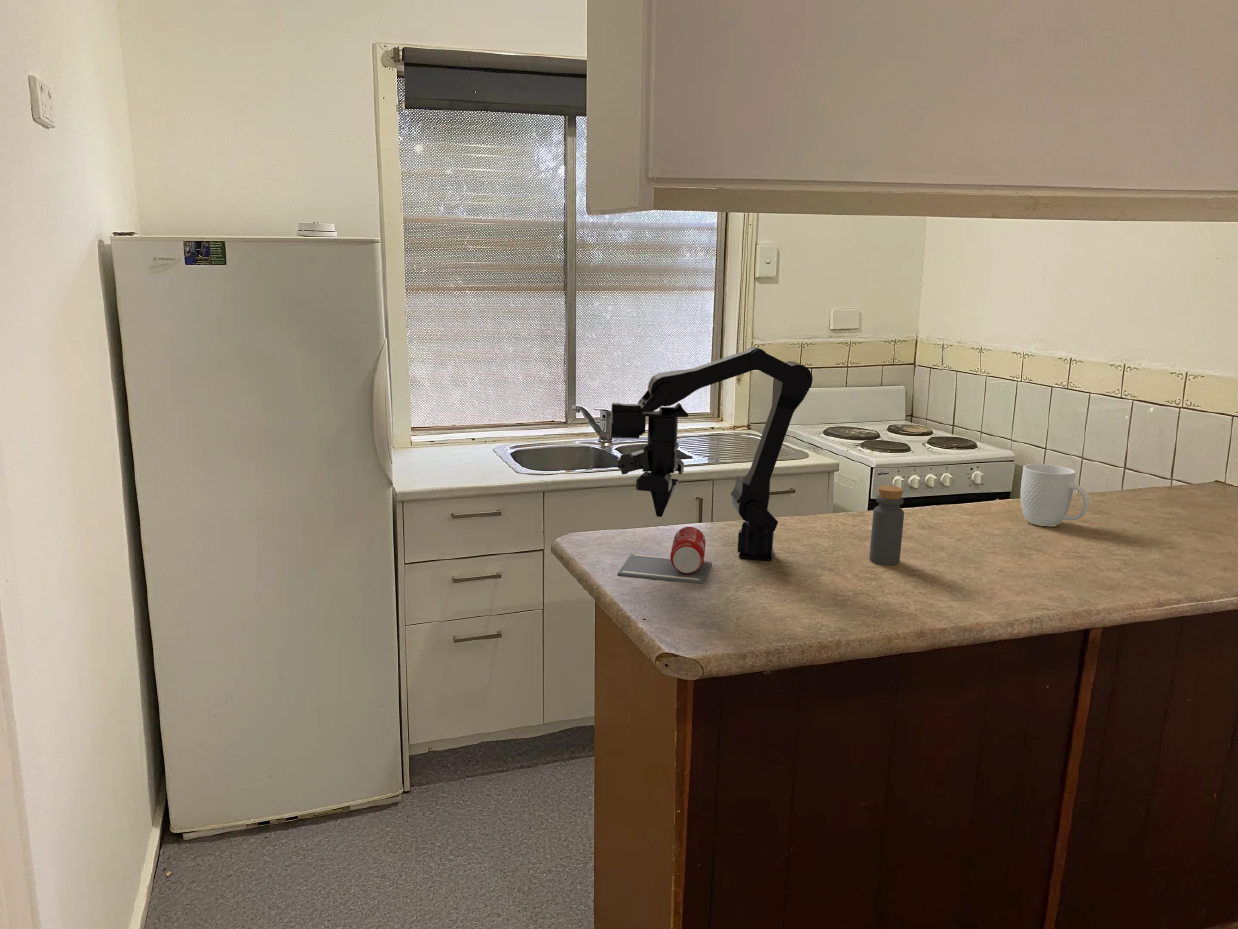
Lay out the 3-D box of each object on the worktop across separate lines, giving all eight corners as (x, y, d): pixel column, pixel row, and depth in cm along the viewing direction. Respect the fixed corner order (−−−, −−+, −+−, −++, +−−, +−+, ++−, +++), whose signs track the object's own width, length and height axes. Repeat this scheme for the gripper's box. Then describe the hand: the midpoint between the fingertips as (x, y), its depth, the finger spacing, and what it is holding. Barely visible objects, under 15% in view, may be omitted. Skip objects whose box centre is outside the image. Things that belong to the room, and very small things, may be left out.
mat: (711, 563, 182) (711, 561, 182) (702, 583, 171) (702, 581, 171) (631, 555, 186) (631, 553, 186) (617, 575, 174) (617, 572, 174)
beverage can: (688, 562, 185) (685, 583, 174) (667, 539, 185) (662, 558, 173) (712, 541, 184) (710, 561, 172) (690, 518, 183) (687, 537, 172)
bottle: (901, 559, 188) (908, 487, 185) (896, 567, 183) (904, 493, 180) (871, 555, 190) (878, 483, 187) (866, 563, 185) (873, 489, 182)
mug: (1093, 528, 215) (1101, 472, 212) (1074, 537, 207) (1082, 479, 204) (1028, 514, 225) (1034, 461, 222) (1008, 522, 217) (1015, 467, 215)
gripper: (631, 427, 192) (629, 501, 196) (610, 445, 174) (608, 525, 178) (685, 431, 190) (682, 506, 193) (669, 449, 172) (666, 530, 175)
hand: (659, 516), depth 185 cm, fingers closed
